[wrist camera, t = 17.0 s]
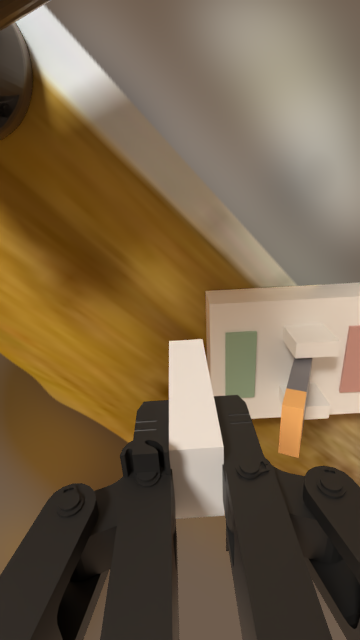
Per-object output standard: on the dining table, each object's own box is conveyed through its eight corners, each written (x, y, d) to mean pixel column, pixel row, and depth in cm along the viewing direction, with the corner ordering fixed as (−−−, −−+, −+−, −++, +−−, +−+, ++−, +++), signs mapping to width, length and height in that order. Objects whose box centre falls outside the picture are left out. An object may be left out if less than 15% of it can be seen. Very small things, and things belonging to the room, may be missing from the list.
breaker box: (207, 398, 55) (215, 445, 45) (205, 290, 48) (214, 319, 38) (357, 390, 55) (397, 435, 45) (377, 281, 48) (429, 308, 38)
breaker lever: (294, 382, 47) (278, 452, 36) (298, 343, 45) (282, 404, 33) (309, 384, 46) (298, 457, 35) (314, 345, 44) (303, 409, 32)
